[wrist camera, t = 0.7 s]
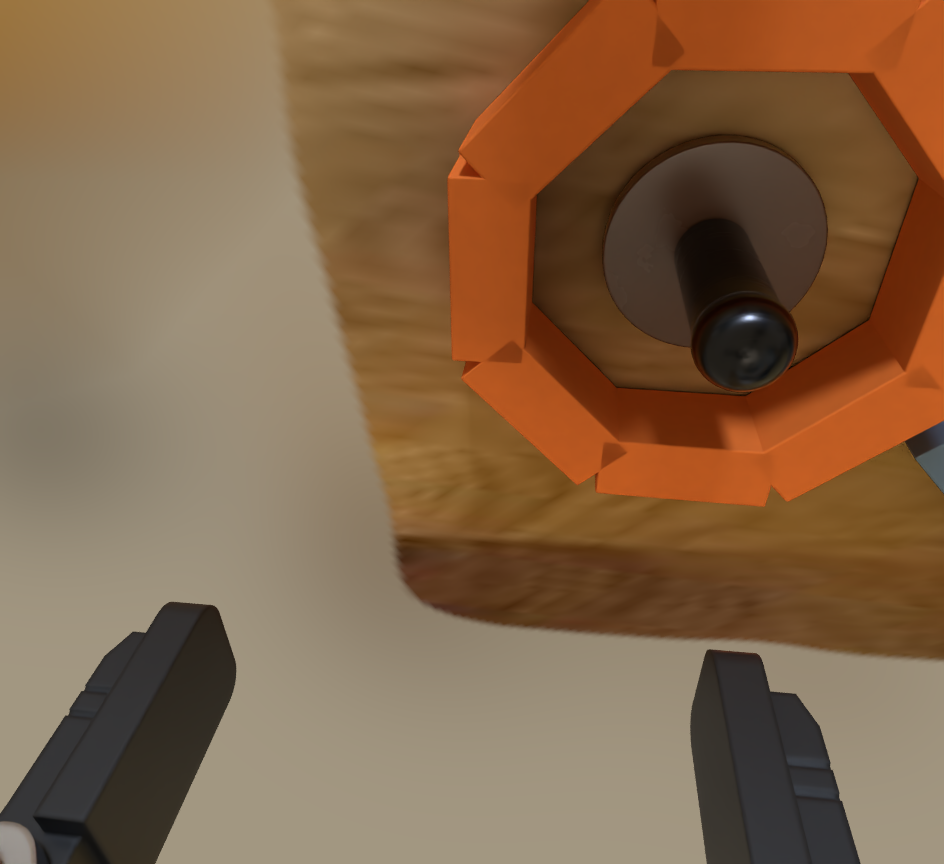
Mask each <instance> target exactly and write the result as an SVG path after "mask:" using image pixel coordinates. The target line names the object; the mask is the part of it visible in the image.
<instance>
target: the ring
mask: <svg viewBox="0 0 944 864" xmlns="http://www.w3.org/2000/svg"><path fill="white" fill-rule="evenodd" d="M671 70H703V71H765V72H826V73H849V75H850V76H851V78H852V79H853V81H854V82H855V84H856V85H857V87H858V88H859V90H860V91H861V93H862V94H863V96H864V97H865V99H866V100H867V102H868V103H869V105H870V106H871V108H872V109H873V111H874V112H875V114H876V115H877V117H878V118H879V120H880V121H881V123H882V124H883V125H884V127H885V128H886V130H887V131H888V133H889V134H890V136H891V137H892V139H893V140H894V142H895V143H896V145H897V146H898V148H899V149H900V151H901V152H902V154H903V155H904V157H905V158H906V160H907V161H908V163H909V164H910V166H911V167H912V169H913V170H914V172H915V173H916V175H917V176H918V178H919V180H918V182H917V185H916V188H915V191H914V194H913V197H912V200H911V202H910V205H909V208H908V211H907V214H906V217H905V220H904V222H903V225H902V228H901V231H900V234H899V237H898V239H897V242H896V245H895V248H894V251H893V254H892V257H891V259H890V262H889V265H888V268H887V271H886V274H885V276H884V279H883V282H882V285H881V288H880V291H879V294H878V296H877V299H876V302H875V305H874V308H873V311H872V313H871V316H870V319H869V320H868V321H867V322H865V323H863V324H862V325H860V326H858V327H857V328H855V329H854V330H852V331H850V332H849V333H847V334H846V335H844V336H842V337H841V338H839V339H837V340H836V341H834V342H833V343H831V344H829V345H828V346H826V347H825V348H823V349H821V350H820V351H818V352H816V353H815V354H813V355H812V356H810V357H808V358H807V359H805V360H803V361H802V362H800V363H799V364H797V365H795V366H794V367H792V368H791V369H789V370H787V371H786V372H785V373H784V374H783V375H782V376H781V377H780V378H779V379H778V380H776V381H775V382H774V383H772V384H770V385H768V386H766V387H764V388H762V389H758V390H755V391H753V392H752V393H750V394H749V395H747V396H734V395H719V394H704V393H688V392H673V391H658V390H643V389H628V388H616V387H615V386H614V385H613V384H612V383H611V382H610V381H609V380H608V379H607V378H606V377H605V376H604V375H603V374H602V373H601V371H600V370H599V369H598V368H597V367H596V366H595V365H594V364H593V363H592V362H591V361H590V360H589V359H588V358H587V357H586V356H585V355H584V354H583V353H582V352H581V351H580V350H579V349H578V348H577V347H576V346H575V345H574V344H573V343H572V342H571V341H570V340H569V339H568V338H567V337H566V336H565V335H564V334H563V333H562V332H561V331H560V330H559V329H558V328H557V327H556V326H555V325H554V324H553V323H552V322H551V321H550V320H549V319H548V318H547V317H546V316H545V315H544V314H543V313H542V312H541V311H540V310H539V309H538V308H537V307H536V306H535V305H534V304H533V303H532V292H533V271H534V249H535V228H536V206H537V194H538V193H539V192H540V191H541V190H542V189H543V188H544V187H545V186H547V185H548V184H549V183H550V182H551V181H552V180H553V179H554V178H555V177H556V176H557V175H558V174H560V173H561V172H562V171H563V170H564V169H565V168H566V167H567V166H568V165H569V164H570V163H571V162H573V161H574V160H575V159H576V158H577V157H578V156H579V155H580V154H581V153H582V152H583V151H584V150H585V149H587V148H588V147H589V146H590V145H591V144H592V143H593V142H594V141H595V140H596V139H597V138H598V137H600V136H601V135H602V134H603V133H604V132H605V131H606V130H607V129H608V128H609V127H610V126H611V125H613V124H614V123H615V122H616V121H617V120H618V119H619V118H620V117H621V116H622V115H623V114H624V113H625V112H627V111H628V110H629V109H630V108H631V107H632V106H633V105H634V104H635V103H636V102H637V101H638V100H640V99H641V98H642V97H643V96H644V95H645V94H646V93H647V92H648V91H649V90H650V89H651V88H653V87H654V86H655V85H656V84H657V83H658V82H659V81H660V80H661V79H662V78H663V77H664V76H665V75H667V74H668V73H669V72H670V71H671ZM458 152H459V154H460V156H459V158H458V160H457V161H456V163H455V165H454V167H453V169H452V171H451V172H450V174H449V176H448V178H447V181H448V220H449V259H450V298H451V337H452V359H453V360H457V361H466V363H465V367H464V371H463V374H462V378H461V379H462V380H463V381H464V382H465V383H466V384H467V385H468V386H469V387H471V388H472V389H473V390H474V391H475V392H476V393H477V394H478V395H479V396H480V397H481V398H483V399H484V400H485V401H486V402H487V403H488V404H489V405H490V406H491V407H492V408H493V409H495V410H496V411H497V412H498V413H499V414H500V415H501V416H502V417H503V418H504V419H505V420H507V421H508V422H509V423H510V424H511V425H512V426H513V427H514V428H515V429H516V430H517V431H519V432H520V433H521V434H522V435H523V436H524V437H525V438H526V439H527V440H528V441H529V442H531V443H532V444H533V445H534V446H535V447H536V448H537V449H538V450H539V451H540V452H541V453H543V454H544V455H545V456H546V457H547V458H548V459H549V460H550V461H551V462H552V463H553V464H555V465H556V466H557V467H558V468H559V469H560V470H561V471H562V472H563V473H564V474H565V475H567V476H568V477H569V478H570V479H571V480H572V481H573V482H574V483H575V484H576V485H579V484H580V483H582V482H584V481H585V480H587V479H588V478H590V477H591V476H593V475H595V490H596V493H605V494H617V495H629V496H641V497H653V498H666V499H678V500H690V501H702V502H714V503H726V504H738V505H751V506H765V505H766V501H767V498H768V495H769V492H770V488H771V486H772V487H773V488H774V489H775V490H776V491H777V492H778V493H779V494H780V495H781V496H782V497H783V498H784V499H785V500H786V501H790V500H792V499H794V498H796V497H798V496H800V495H802V494H804V493H806V492H808V491H809V490H811V489H813V488H815V487H817V486H819V485H821V484H823V483H825V482H827V481H829V480H831V479H833V478H834V477H836V476H838V475H840V474H842V473H844V472H846V471H848V470H850V469H852V468H854V467H856V466H858V465H860V464H861V463H863V462H865V461H867V460H869V459H871V458H873V457H875V456H877V455H879V454H881V453H883V452H885V451H886V450H888V449H890V448H892V447H894V446H896V445H898V444H900V443H902V442H904V441H906V440H908V439H910V438H911V437H913V436H915V435H917V434H919V433H921V432H923V431H925V430H927V429H929V428H931V427H933V426H935V425H937V424H938V423H940V422H942V421H944V0H589V1H588V2H587V3H586V4H585V5H584V6H583V7H582V9H581V10H580V11H579V12H578V13H577V14H576V15H575V16H574V17H573V18H572V19H571V20H570V21H569V22H568V23H567V24H566V25H565V26H564V27H563V29H562V30H561V31H560V32H559V33H558V34H557V35H556V36H555V37H554V38H553V39H552V40H551V41H550V42H549V43H548V44H547V45H546V46H545V48H544V49H543V50H542V51H541V52H540V53H539V54H538V55H537V56H536V57H535V58H534V59H533V60H532V61H531V62H530V63H529V64H528V65H527V66H526V68H525V69H524V70H523V71H522V72H521V73H520V74H519V75H518V76H517V77H516V78H515V79H514V80H513V81H512V82H511V83H510V84H509V85H508V87H507V88H506V89H505V90H504V91H503V92H502V93H501V94H500V95H499V96H498V97H497V98H496V99H495V100H494V101H493V102H492V103H491V104H490V105H489V107H488V108H487V109H486V110H485V111H484V112H483V113H482V114H481V115H480V116H479V117H478V118H477V119H476V120H475V122H474V124H473V125H472V127H471V129H470V131H469V132H468V134H467V136H466V138H465V139H464V141H463V143H462V145H461V146H460V148H459V151H458Z"/></svg>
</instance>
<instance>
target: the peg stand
mask: <svg viewBox="0 0 944 864" xmlns="http://www.w3.org/2000/svg"><path fill="white" fill-rule="evenodd" d="M827 233H828V227H827V216H826V211H825V207H824V203H823V200H822V198H821V195H820V193H819V191H818V189H817V187H816V186H815V184H814V182H813V181H812V179H811V178H810V177H809V175H808V174H807V173H806V172H805V171H804V169H803V168H802V167H801V166H800V165H799V164H798V163H797V161H795V160H794V159H793V158H792V157H790V156H789V155H788V154H787V153H786V152H784V151H782V150H780V149H779V148H777V147H775V146H774V145H771V144H769V143H766V142H764V141H761V140H758V139H754V138H750V137H745V136H735V135H719V136H710V137H704V138H698V139H695V140H692V141H689V142H685V143H683V144H680V145H678V146H676V147H673V148H671V149H669V150H667V151H666V152H664V153H662V154H661V155H659V156H657V157H656V158H654V159H653V160H652V161H650V162H649V163H648V164H646V165H645V166H644V167H643V168H642V169H641V170H640V171H639V172H638V173H637V174H635V175H634V176H633V177H632V179H631V180H630V181H629V182H628V184H627V185H626V186H625V187H624V189H623V190H622V191H621V193H620V195H619V196H618V198H617V200H616V201H615V203H614V205H613V207H612V210H611V212H610V214H609V217H608V220H607V223H606V226H605V231H604V237H603V250H602V258H603V270H604V276H605V280H606V284H607V287H608V290H609V292H610V295H611V297H612V299H613V301H614V302H615V304H616V306H617V307H618V309H619V310H620V311H621V312H622V314H623V315H624V316H625V317H626V318H627V319H628V320H629V321H630V322H631V323H632V324H633V325H634V326H635V327H637V328H638V329H640V330H641V331H643V332H644V333H646V334H648V335H650V336H651V337H653V338H655V339H658V340H660V341H663V342H666V343H669V344H673V345H677V346H683V347H691V353H692V357H693V360H694V363H695V365H696V367H697V368H698V370H699V371H700V372H701V374H702V375H703V376H704V377H705V378H706V379H707V380H708V381H710V382H711V383H713V384H714V385H716V386H718V387H720V388H723V389H725V390H729V391H734V392H749V391H755V390H758V389H762V388H764V387H766V386H768V385H770V384H772V383H774V382H775V381H776V380H778V379H779V378H780V377H781V376H782V375H783V374H784V373H785V372H786V371H787V370H788V368H789V367H790V365H791V363H792V362H793V360H794V357H795V355H796V351H797V346H798V332H797V327H796V324H795V321H794V319H793V317H792V315H791V314H790V311H791V310H792V309H793V308H794V307H795V306H796V305H797V304H798V303H799V301H800V300H801V299H802V298H803V297H804V295H805V294H806V292H807V291H808V290H809V288H810V287H811V285H812V283H813V281H814V280H815V278H816V276H817V274H818V272H819V269H820V267H821V264H822V261H823V258H824V254H825V250H826V245H827Z"/></svg>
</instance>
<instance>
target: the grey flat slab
mask: <svg viewBox="0 0 944 864" xmlns="http://www.w3.org/2000/svg"><path fill="white" fill-rule="evenodd" d="M905 443H906V445H907V446H908V448H909V450H910V451H911V453H912V455H913V456H914V458H915V459H916V461H917V462H918V463H919V464H920V466H921V467H922V468H923V469H924V470H925V472H926V473H927V474H928V475H929V477H930V478H931V479H932V480H933V481H934V483H935V484H936V485H937V486H938V488H939V489H940V490H941V491H942V493H943V494H944V421H942V422H940V423H938V424H937V425H935V426H933V427H931V428H929V429H927V430H925V431H923V432H921V433H919V434H917V435H915V436H913V437H911V438H910V439H908V440H906V441H905Z"/></svg>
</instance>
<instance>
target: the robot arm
mask: <svg viewBox="0 0 944 864" xmlns="http://www.w3.org/2000/svg"><path fill="white" fill-rule="evenodd" d="M235 680H236V663H235V658H234V656H233V652H232V650H231V646H230V644H229V640H228V637H227V634H226V631H225V629H224V625H223V622H222V619H221V616H220V613H219V611H218V609H217V608H216V607H215V606H213V605H203V604H192V603H191V604H190V603H180V602H169V603H167V604H166V605H164V606H163V607H162V609H161V610H160V611H159V613H158V614H157V616H156V617H155V619H154V621H153V623H152V624H151V625H150V627H149V629H148V631H147V632H146V633H141V632H132V633H131V634H130V635H129V636H127V637H126V638H125V639H124V640H123V641H122V642H121V643H119V644H118V645H117V646H116V647H115V648H114V649H112V650H111V651H110V652H109V653H108V654H107V655H105V656H104V658H103V659H102V661H101V663H100V664H99V665H98V667H97V668H96V670H95V671H94V673H93V674H92V676H91V678H90V679H89V681H88V682H87V684H86V685H85V686H86V688H85V690H84V691H81V693H80V694H79V696H78V697H77V699H76V700H75V702H74V703H73V705H72V706H71V708H70V713H69V715H68V716H65V717H64V719H63V720H62V722H61V724H60V725H59V726H58V728H57V729H56V731H55V732H54V734H53V735H52V737H51V738H50V740H49V741H48V743H47V744H46V746H45V748H44V749H43V750H42V752H41V753H40V755H39V757H38V758H37V760H36V761H35V763H34V764H33V766H32V767H31V769H30V770H29V772H28V773H27V775H26V776H25V778H24V779H23V781H22V782H21V784H20V786H19V787H18V788H17V790H16V792H15V793H14V794H13V796H12V798H11V799H10V801H9V802H8V804H7V805H6V806H5V808H4V809H3V811H2V812H1V813H0V864H155V863H156V861H157V858H158V856H159V854H160V852H161V849H162V847H163V845H164V843H165V841H166V839H167V836H168V834H169V832H170V830H171V828H172V825H173V823H174V821H175V819H176V817H177V815H178V812H179V810H180V808H181V806H182V804H183V802H184V799H185V797H186V795H187V793H188V791H189V788H190V786H191V784H192V782H193V780H194V778H195V775H196V773H197V771H198V769H199V767H200V764H201V762H202V760H203V758H204V756H205V754H206V751H207V749H208V747H209V745H210V743H211V740H212V738H213V736H214V734H215V731H216V729H217V727H218V725H219V723H220V721H221V718H222V716H223V714H224V712H225V710H226V708H227V705H228V703H229V701H230V699H231V696H232V693H233V689H234V685H235ZM690 728H691V730H690V731H691V747H692V755H693V762H694V770H695V778H696V785H697V793H698V800H699V807H700V815H701V823H702V830H703V838H704V845H705V853H706V859H707V864H860V860H859V857H858V854H857V850H856V847H855V844H854V840H853V837H852V834H851V830H850V827H849V824H848V820H847V817H846V813H845V810H844V807H843V803H842V801H840V799H839V790H838V787H837V784H836V780H835V776H834V773H833V770H831V768H830V760H829V756H828V753H827V749H826V747H825V743H824V740H823V736H822V733H821V729H820V726H819V725H818V724H817V722H816V721H815V720H814V718H813V717H812V715H811V714H810V713H809V711H808V710H807V709H806V707H805V706H804V705H803V703H802V702H801V700H800V699H799V698H798V696H797V695H796V694H791V693H780V692H770V689H769V685H768V681H767V677H766V673H765V669H764V665H763V662H762V659H761V657H760V656H759V655H758V654H756V653H745V652H732V651H721V650H707V652H706V654H705V657H704V661H703V665H702V669H701V673H700V677H699V681H698V685H697V689H696V693H695V697H694V701H693V705H692V710H691V725H690Z"/></svg>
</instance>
